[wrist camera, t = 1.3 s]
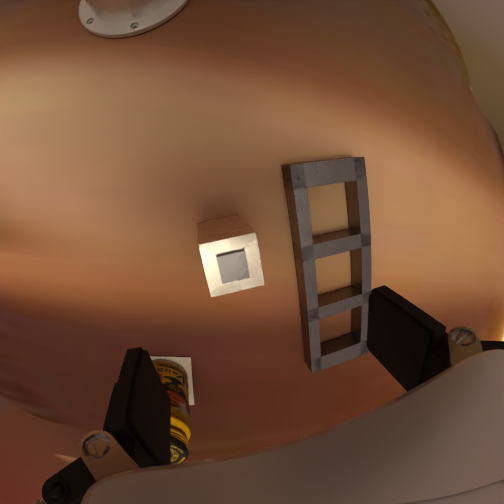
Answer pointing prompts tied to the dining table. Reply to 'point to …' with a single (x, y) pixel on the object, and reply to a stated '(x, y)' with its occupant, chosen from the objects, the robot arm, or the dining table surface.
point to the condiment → (177, 401)
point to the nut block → (229, 255)
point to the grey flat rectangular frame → (326, 245)
